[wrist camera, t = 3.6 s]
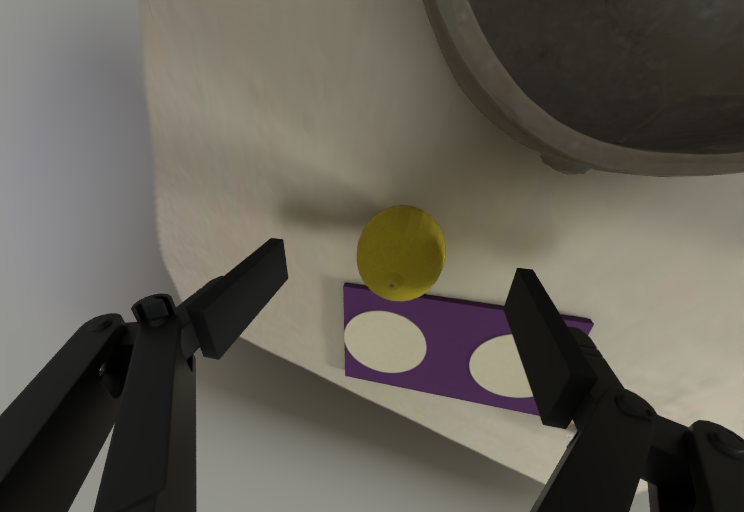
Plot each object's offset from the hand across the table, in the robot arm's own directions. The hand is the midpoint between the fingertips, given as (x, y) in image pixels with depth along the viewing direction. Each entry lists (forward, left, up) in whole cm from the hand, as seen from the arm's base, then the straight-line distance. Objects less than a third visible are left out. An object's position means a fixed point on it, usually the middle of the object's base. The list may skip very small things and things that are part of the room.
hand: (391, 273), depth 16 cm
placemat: (+12, +5, -6) cm, 14 cm away
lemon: (0, 0, -7) cm, 7 cm away
